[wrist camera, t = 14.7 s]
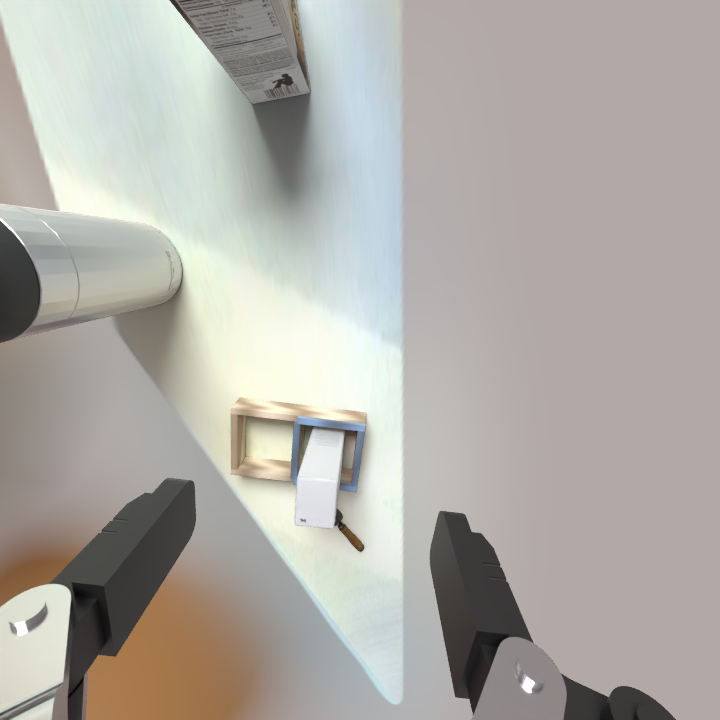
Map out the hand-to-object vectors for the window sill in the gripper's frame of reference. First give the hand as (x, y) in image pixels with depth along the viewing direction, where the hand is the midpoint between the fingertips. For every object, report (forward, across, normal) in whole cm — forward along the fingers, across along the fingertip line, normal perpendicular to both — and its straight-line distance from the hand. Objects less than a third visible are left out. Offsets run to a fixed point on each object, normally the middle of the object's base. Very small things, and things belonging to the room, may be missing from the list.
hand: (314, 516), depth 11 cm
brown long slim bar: (+31, -2, +30) cm, 43 cm away
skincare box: (+30, +2, +16) cm, 34 cm away
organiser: (+30, +6, +16) cm, 35 cm away
